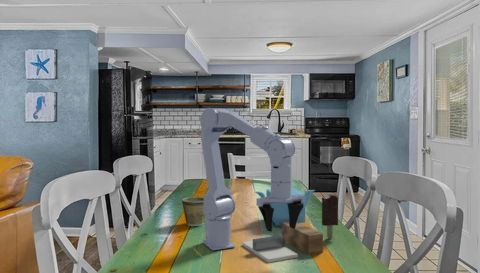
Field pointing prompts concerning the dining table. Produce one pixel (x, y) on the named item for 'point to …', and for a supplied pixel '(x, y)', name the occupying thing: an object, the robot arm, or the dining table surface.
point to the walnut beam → (303, 238)
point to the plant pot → (194, 211)
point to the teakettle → (286, 208)
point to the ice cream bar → (330, 213)
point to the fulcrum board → (272, 253)
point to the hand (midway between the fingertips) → (280, 229)
